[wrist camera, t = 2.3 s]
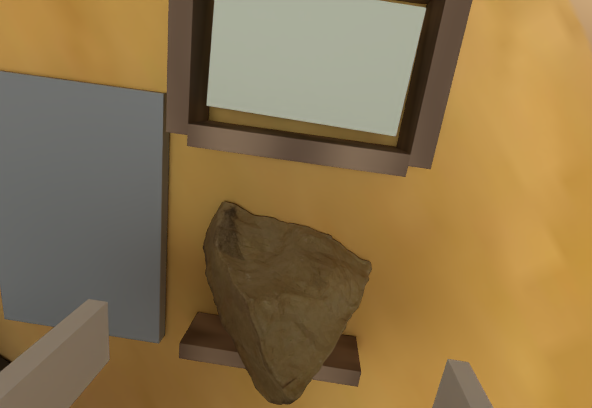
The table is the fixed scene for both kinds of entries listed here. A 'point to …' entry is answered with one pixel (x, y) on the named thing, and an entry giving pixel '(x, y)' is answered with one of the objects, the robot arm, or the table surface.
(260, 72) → the pale grey-green block
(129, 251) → the board
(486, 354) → the table surface
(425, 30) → the brown frame and bar
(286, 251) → the rock
